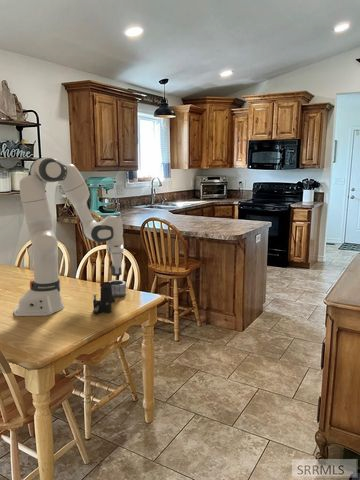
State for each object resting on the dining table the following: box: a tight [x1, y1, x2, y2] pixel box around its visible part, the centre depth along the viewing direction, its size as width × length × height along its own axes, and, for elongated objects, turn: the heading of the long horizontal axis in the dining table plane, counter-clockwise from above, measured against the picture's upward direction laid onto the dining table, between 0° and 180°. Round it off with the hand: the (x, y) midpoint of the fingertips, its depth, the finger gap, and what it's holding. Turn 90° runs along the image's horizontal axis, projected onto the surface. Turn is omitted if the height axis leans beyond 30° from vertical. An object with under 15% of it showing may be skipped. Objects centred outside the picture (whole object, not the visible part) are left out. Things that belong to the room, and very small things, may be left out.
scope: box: [92, 281, 116, 315], centre depth 182 cm, size 8×14×10 cm
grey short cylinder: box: [108, 279, 127, 299], centre depth 206 cm, size 10×10×6 cm
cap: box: [110, 263, 123, 277], centre depth 204 cm, size 5×5×6 cm
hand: (116, 271), depth 204 cm, fingers closed on cap, 5 cm apart
